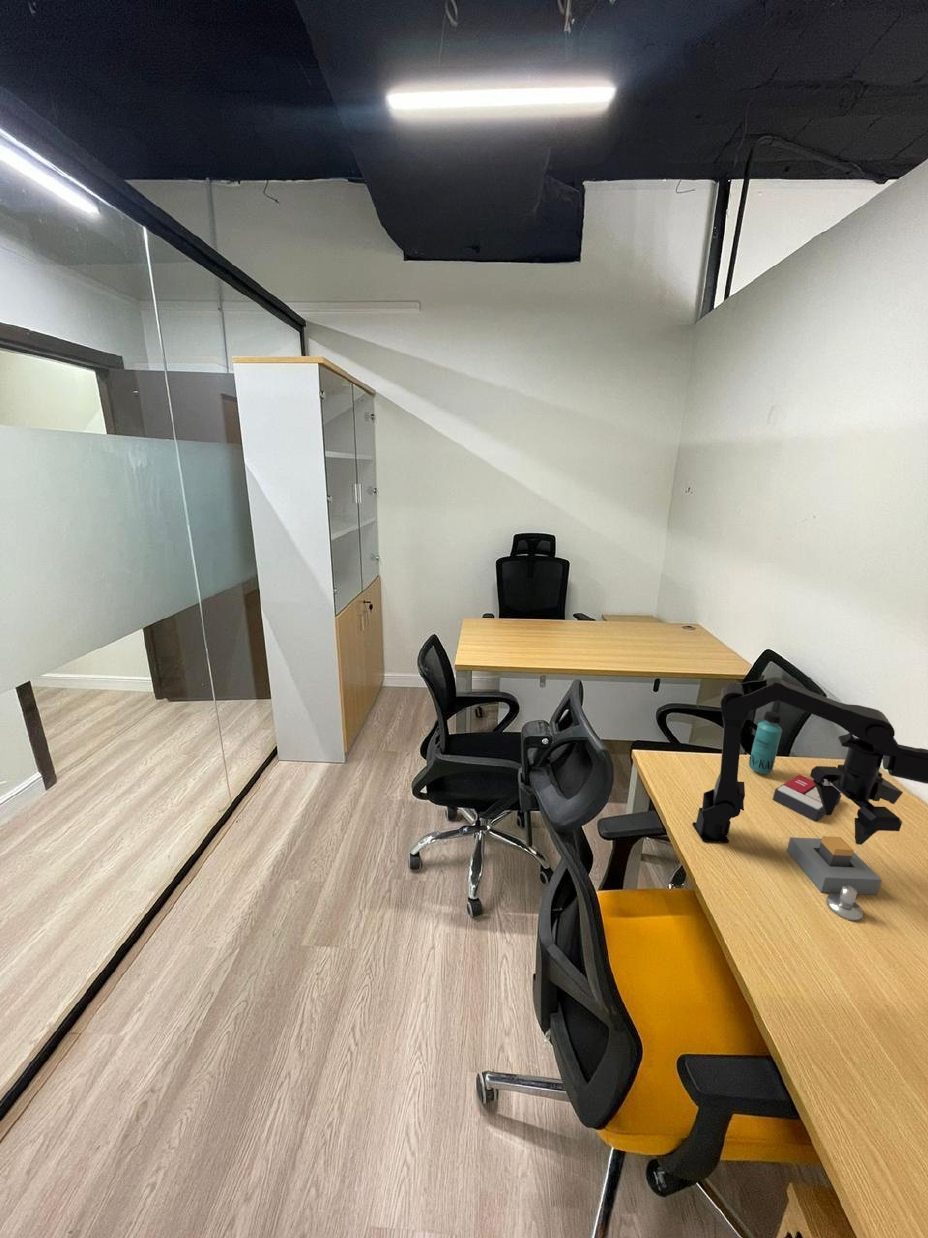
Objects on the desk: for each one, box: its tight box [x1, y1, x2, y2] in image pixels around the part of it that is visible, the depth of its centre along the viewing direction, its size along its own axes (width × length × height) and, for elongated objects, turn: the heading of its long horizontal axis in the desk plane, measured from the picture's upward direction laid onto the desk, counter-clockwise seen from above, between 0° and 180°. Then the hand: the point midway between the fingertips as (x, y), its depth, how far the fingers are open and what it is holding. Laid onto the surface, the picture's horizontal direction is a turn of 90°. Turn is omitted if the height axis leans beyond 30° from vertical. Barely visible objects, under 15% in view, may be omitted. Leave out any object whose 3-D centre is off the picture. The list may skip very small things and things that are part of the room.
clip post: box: [825, 885, 864, 922], centre depth 100 cm, size 6×6×5 cm
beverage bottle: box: [748, 710, 783, 775], centre depth 145 cm, size 6×7×20 cm
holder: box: [786, 836, 883, 895], centre depth 110 cm, size 12×12×4 cm
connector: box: [818, 835, 855, 867], centre depth 109 cm, size 4×4×8 cm
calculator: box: [772, 774, 842, 823], centre depth 134 cm, size 11×4×15 cm
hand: (842, 829), depth 107 cm, fingers open, 9 cm apart
